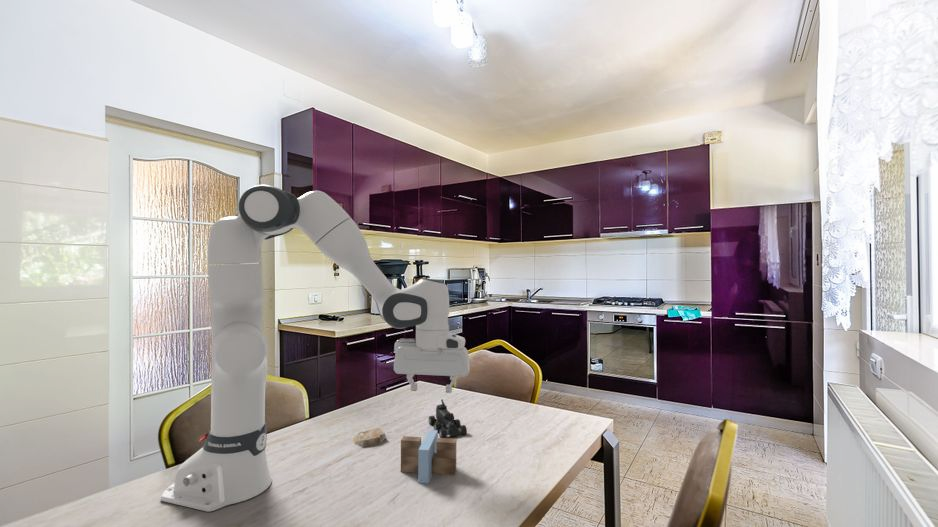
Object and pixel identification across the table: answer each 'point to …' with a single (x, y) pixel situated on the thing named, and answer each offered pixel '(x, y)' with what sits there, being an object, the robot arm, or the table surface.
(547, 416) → the table surface
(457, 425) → the toy vehicle
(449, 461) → the wooden u-shaped block
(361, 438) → the stone
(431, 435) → the blue arch block
